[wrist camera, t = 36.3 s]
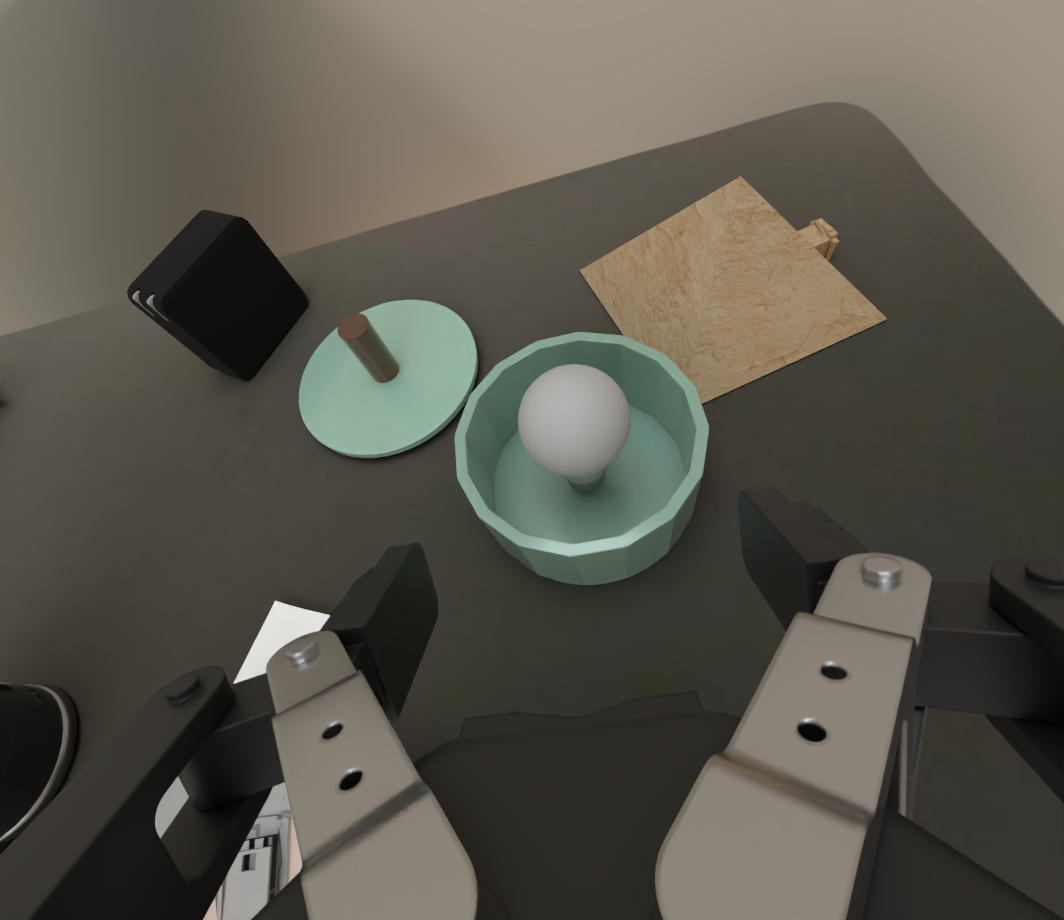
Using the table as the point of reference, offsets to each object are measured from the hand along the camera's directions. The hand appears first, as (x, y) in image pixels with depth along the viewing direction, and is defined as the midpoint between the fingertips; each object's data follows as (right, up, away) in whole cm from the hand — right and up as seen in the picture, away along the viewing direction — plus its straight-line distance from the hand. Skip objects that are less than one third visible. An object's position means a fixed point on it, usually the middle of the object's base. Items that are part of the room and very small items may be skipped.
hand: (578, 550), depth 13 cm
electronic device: (-26, +14, +35) cm, 46 cm away
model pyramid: (+14, +16, +28) cm, 35 cm away
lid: (-13, +9, +29) cm, 34 cm away
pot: (+3, +1, +23) cm, 23 cm away
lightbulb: (+3, +1, +22) cm, 22 cm away
